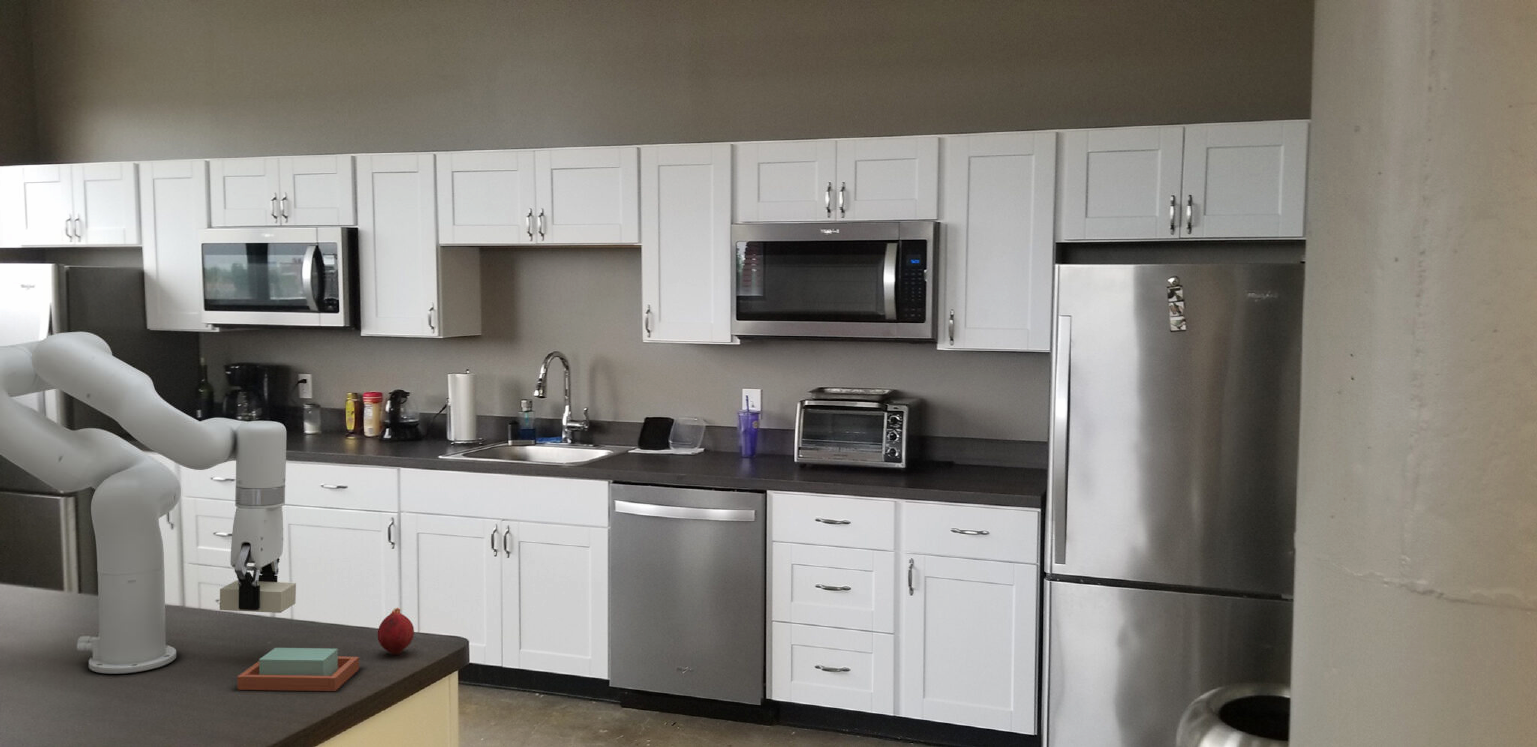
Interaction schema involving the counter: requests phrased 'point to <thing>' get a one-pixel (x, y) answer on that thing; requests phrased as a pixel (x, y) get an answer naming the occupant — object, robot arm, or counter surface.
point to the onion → (395, 632)
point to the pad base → (299, 662)
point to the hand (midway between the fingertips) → (258, 602)
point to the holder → (298, 678)
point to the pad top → (261, 597)
